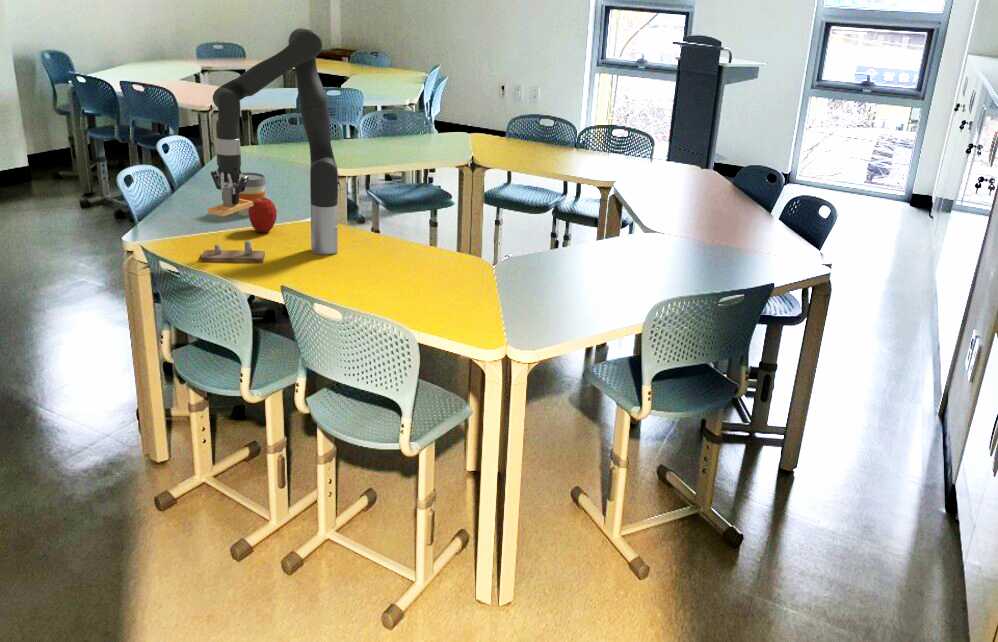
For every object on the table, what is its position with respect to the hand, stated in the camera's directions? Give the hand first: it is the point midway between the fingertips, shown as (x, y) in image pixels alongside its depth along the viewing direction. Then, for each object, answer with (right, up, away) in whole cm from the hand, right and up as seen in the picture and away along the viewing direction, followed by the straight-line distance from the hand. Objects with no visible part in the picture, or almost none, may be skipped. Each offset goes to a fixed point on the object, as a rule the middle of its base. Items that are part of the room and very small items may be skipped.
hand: (230, 203), depth 281 cm
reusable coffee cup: (-10, +4, +57) cm, 58 cm away
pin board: (-1, -18, +7) cm, 19 cm away
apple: (+1, -6, +36) cm, 37 cm away
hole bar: (0, -2, +1) cm, 2 cm away
